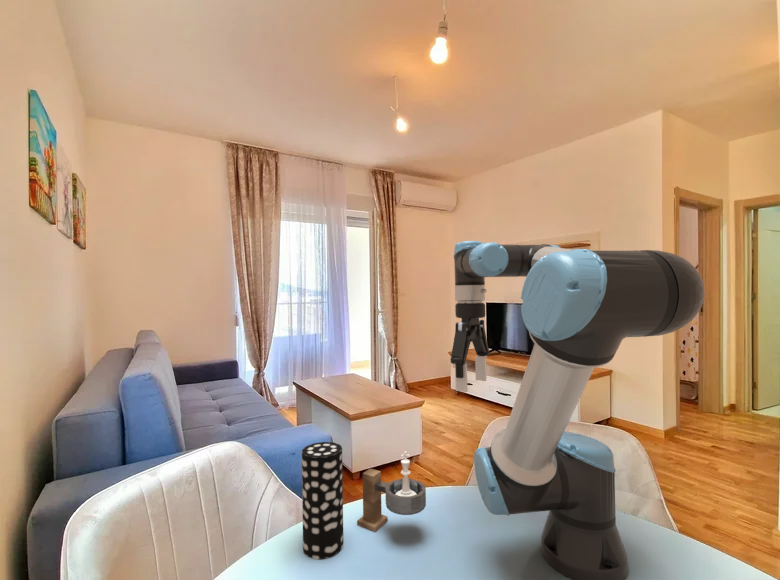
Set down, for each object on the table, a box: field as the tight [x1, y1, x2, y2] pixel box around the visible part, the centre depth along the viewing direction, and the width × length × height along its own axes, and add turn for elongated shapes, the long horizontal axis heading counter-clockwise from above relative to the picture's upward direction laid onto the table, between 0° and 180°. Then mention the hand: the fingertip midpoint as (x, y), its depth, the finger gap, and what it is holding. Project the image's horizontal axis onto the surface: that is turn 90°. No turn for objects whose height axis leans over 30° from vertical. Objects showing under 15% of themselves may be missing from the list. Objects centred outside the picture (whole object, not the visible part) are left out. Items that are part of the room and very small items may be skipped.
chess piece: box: [395, 451, 417, 496], centre depth 84 cm, size 5×5×10 cm
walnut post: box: [356, 468, 388, 533], centre depth 89 cm, size 5×5×12 cm
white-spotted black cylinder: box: [301, 441, 344, 560], centre depth 81 cm, size 8×8×20 cm
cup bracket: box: [375, 478, 427, 516], centre depth 85 cm, size 14×9×3 cm, turn 57°
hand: (471, 385), depth 99 cm, fingers open, 13 cm apart
